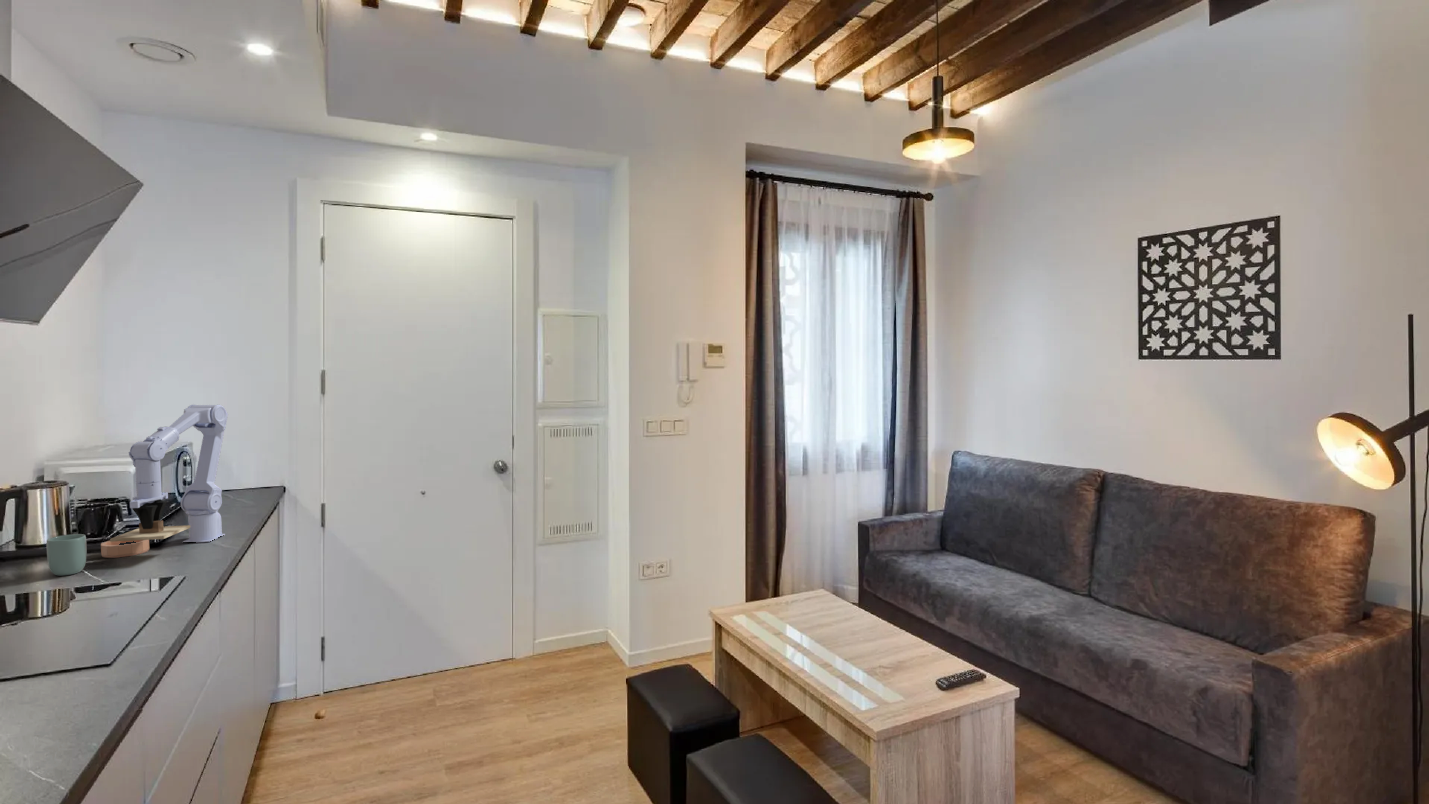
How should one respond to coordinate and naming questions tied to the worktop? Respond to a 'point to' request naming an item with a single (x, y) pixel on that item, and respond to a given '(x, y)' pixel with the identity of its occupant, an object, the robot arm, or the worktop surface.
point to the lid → (150, 532)
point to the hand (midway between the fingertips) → (150, 527)
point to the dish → (123, 548)
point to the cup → (66, 554)
